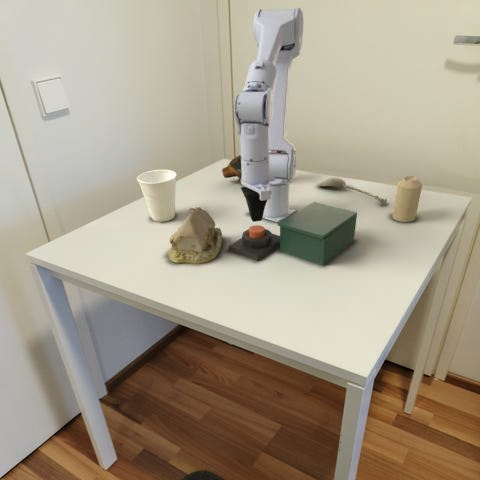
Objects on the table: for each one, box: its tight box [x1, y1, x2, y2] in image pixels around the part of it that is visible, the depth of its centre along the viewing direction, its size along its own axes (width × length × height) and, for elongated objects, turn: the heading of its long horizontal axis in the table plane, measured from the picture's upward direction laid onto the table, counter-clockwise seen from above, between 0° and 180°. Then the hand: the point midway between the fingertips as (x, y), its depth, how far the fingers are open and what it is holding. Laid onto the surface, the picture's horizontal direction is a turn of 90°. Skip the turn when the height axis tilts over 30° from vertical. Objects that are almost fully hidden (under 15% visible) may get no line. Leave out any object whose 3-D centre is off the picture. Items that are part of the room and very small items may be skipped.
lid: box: [277, 201, 358, 239], centre depth 98 cm, size 14×11×1 cm
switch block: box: [228, 228, 280, 262], centre depth 102 cm, size 8×10×3 cm
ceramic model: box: [167, 206, 223, 265], centre depth 100 cm, size 14×11×10 cm
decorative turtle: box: [221, 154, 242, 182], centre depth 135 cm, size 10×15×8 cm, turn 101°
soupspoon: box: [318, 177, 388, 206], centre depth 125 cm, size 22×3×7 cm
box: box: [279, 215, 358, 267], centre depth 100 cm, size 14×11×6 cm
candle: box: [392, 175, 423, 223], centre depth 109 cm, size 6×6×10 cm
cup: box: [136, 169, 178, 223], centre depth 115 cm, size 10×10×11 cm
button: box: [248, 224, 266, 239], centre depth 101 cm, size 4×4×2 cm
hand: (256, 220), depth 99 cm, fingers closed
